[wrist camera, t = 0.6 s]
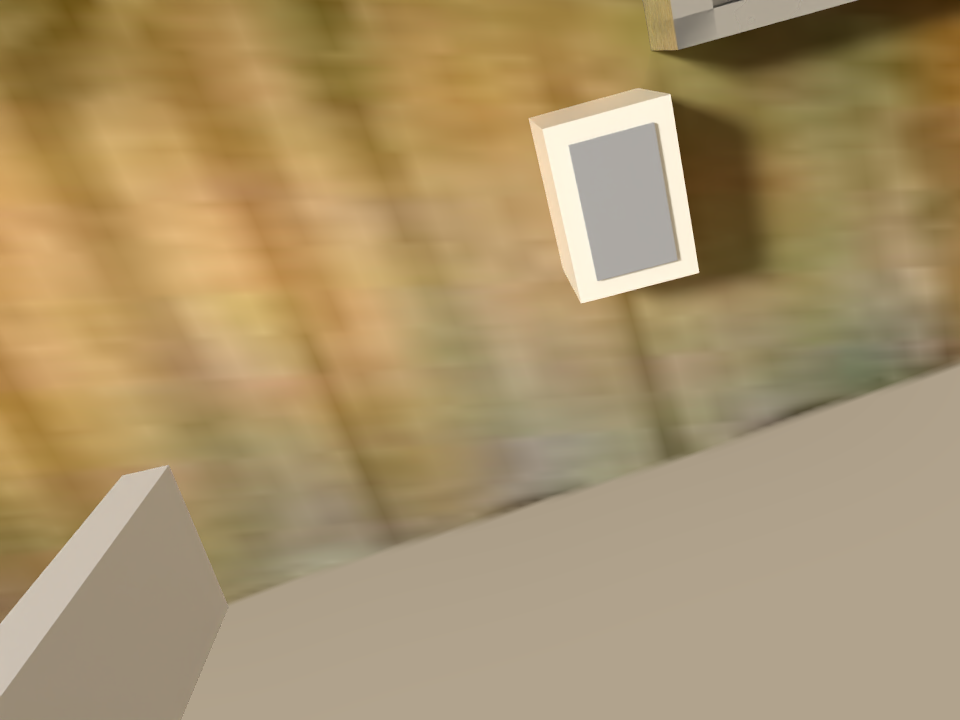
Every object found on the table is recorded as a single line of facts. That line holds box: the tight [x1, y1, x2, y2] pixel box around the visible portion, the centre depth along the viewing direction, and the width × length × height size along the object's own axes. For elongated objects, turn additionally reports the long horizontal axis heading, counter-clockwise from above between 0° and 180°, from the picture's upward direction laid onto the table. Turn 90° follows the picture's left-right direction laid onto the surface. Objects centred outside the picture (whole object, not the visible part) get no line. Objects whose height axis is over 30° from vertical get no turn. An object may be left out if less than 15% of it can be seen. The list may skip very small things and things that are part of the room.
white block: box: [529, 88, 699, 303], centre depth 30 cm, size 6×4×5 cm
